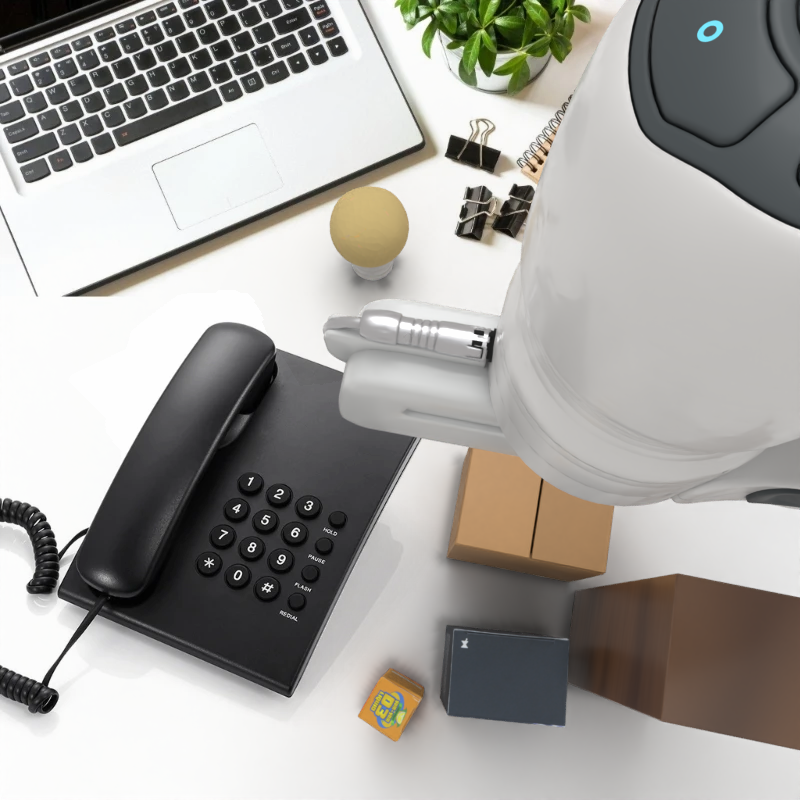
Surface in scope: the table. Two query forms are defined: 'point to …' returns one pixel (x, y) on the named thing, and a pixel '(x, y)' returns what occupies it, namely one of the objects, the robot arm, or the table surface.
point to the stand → (693, 654)
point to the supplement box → (392, 704)
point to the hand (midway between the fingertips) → (556, 450)
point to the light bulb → (369, 230)
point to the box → (505, 676)
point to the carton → (548, 536)
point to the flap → (499, 504)
